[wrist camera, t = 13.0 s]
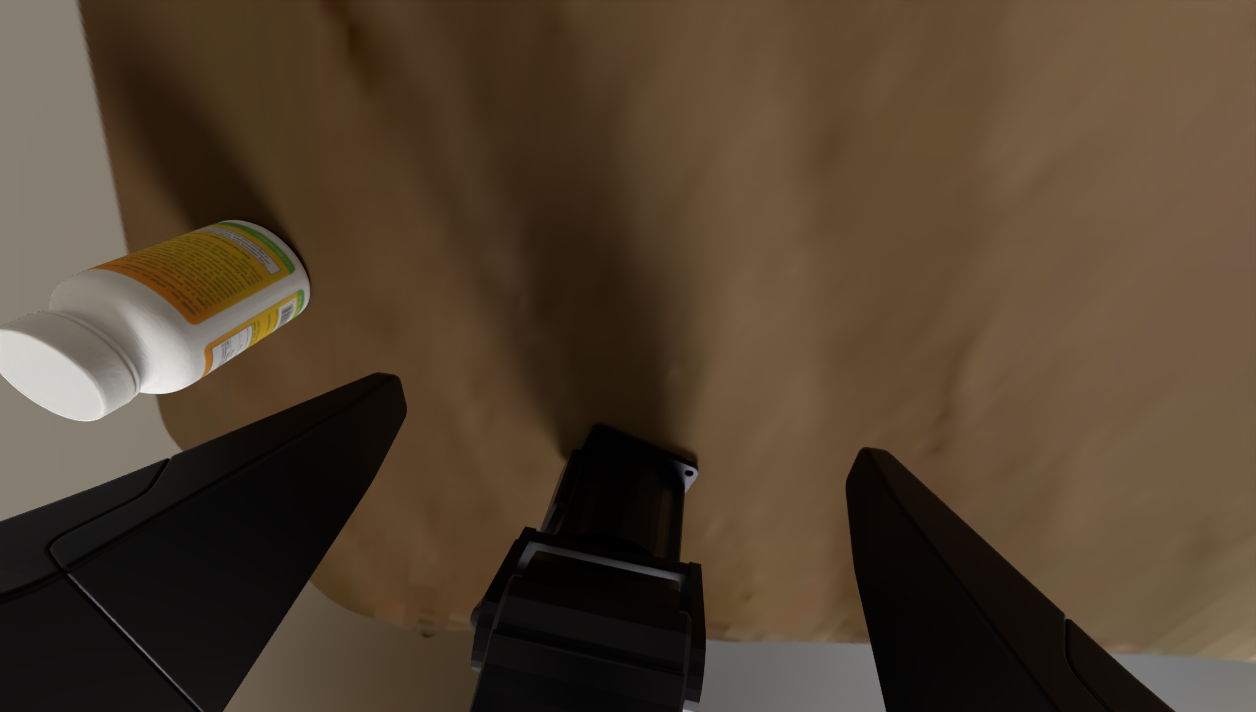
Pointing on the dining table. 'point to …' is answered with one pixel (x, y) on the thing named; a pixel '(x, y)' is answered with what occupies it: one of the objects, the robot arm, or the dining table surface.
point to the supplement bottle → (153, 319)
